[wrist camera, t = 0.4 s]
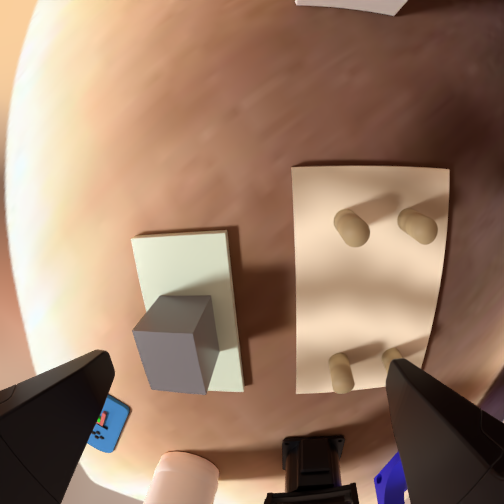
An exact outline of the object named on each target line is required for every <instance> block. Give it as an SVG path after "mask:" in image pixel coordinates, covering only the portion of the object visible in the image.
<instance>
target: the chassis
mask: <svg viewBox="0 0 504 504" xmlns="http://www.w3.org/2000/svg"><path fill="white" fill-rule="evenodd" d="M291 172H292V190H293V211H294V236H295V269H296V394H304V393H324V392H336V393H338V394H345V393H348V392H350V391H351V390H360V389H369V388H377V387H385V386H386V378H387V374H388V370H389V366H390V362H391V360H393V359H397V358H405V359H407V360H408V361H410V362H411V363H413V364H414V365H416V366H417V367H419V368H420V369H421V366H422V363H423V359H424V356H425V352H426V348H427V344H428V340H429V336H430V332H431V328H432V323H433V319H434V314H435V309H436V304H437V299H438V294H439V288H440V282H441V276H442V269H443V261H444V253H445V245H446V235H447V223H448V207H449V169H443V168H428V167H407V166H360V165H347V166H299V167H291Z"/></svg>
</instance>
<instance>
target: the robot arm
mask: <svg viewBox="0 0 504 504" xmlns="http://www.w3.org/2000/svg"><path fill="white" fill-rule="evenodd" d="M114 376H115V370H114V367H113V364H112V361H111V358H110V355H109V353H108V352H107V351H104V350H94V351H92V352H90V353H87V354H85V355H83V356H81V357H78V358H76V359H74V360H72V361H69V362H67V363H65V364H63V365H60V366H58V367H56V368H53V369H51V370H49V371H46V372H44V373H42V374H39V375H37V376H35V377H32V378H30V379H28V380H25V381H23V382H21V383H18V384H17V385H13V386H11V387H9V388H6V389H4V390H1V391H0V504H61V502H62V500H63V497H64V495H65V492H66V490H67V487H68V485H69V483H70V481H71V478H72V476H73V473H74V471H75V469H76V467H77V464H78V462H79V460H80V457H81V455H82V453H83V451H84V449H85V446H86V444H87V442H88V440H89V438H90V435H91V433H92V431H93V429H94V427H95V425H96V423H97V421H98V418H99V416H100V414H101V412H102V409H103V407H104V404H105V401H106V398H107V396H108V393H109V390H110V387H111V385H112V382H113V379H114ZM386 391H387V397H388V403H389V409H390V416H391V422H392V428H393V432H394V436H395V439H396V443H397V447H398V451H399V455H400V459H401V463H402V467H403V471H404V475H405V479H406V484H407V488H408V493H409V497H410V502H411V504H504V423H502V422H501V421H499V420H498V419H496V418H494V417H493V416H491V415H490V414H488V413H487V412H485V411H484V410H481V409H480V408H479V407H477V406H476V405H474V404H473V403H471V402H470V401H468V400H467V399H465V398H464V397H462V396H461V395H459V394H458V393H456V392H455V391H453V390H452V389H450V388H449V387H447V386H446V385H444V384H443V383H441V382H440V381H438V380H437V379H435V378H434V377H432V376H431V375H429V374H428V373H426V372H425V371H423V370H422V369H420V368H419V367H417V366H416V365H414V364H413V363H411V362H410V361H408V360H407V359H405V358H397V359H393V360H391V362H390V366H389V370H388V374H387V378H386ZM344 442H345V438H344V436H342V435H340V436H328V437H312V438H286V439H284V440H283V442H282V454H283V469H284V470H286V476H285V493H267V497H266V499H265V501H264V504H359V500H358V494H357V488H356V483H350V484H349V485H344V486H342V484H341V474H340V465H339V461H340V457H341V454H342V450H343V446H344Z"/></svg>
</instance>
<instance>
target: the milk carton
mask: <svg viewBox="0 0 504 504" xmlns="http://www.w3.org/2000/svg"><path fill="white" fill-rule="evenodd" d="M407 1H408V0H295V3H296V5H305V6H324V7H336V8H346V9H354V10H362V11H369V12H375V13H381V14H386V15H391V16H394V15H395V14H396V13H397V12H398V11H399V10H400V9H401V8H402V6H403V5H404V4H405V3H406V2H407Z"/></svg>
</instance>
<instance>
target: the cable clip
mask: <svg viewBox="0 0 504 504" xmlns="http://www.w3.org/2000/svg"><path fill="white" fill-rule="evenodd" d="M374 483H375V488H376V494H377V500H378V504H404V492H405V491H406V490H407V489H408V488H407V484H406V479H405V475H404V471H403V467H402V463H401V459H400V455H399V451H398V452H397V453H396V454H395V456H394V457H393V458H392V459H391V460H390V461H389V462H388V464H387V465H386V466H385V467H384V468H383V469H382V470H381V471H380V473H379V474H378V475H377V476H376V477H375V478H374Z"/></svg>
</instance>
